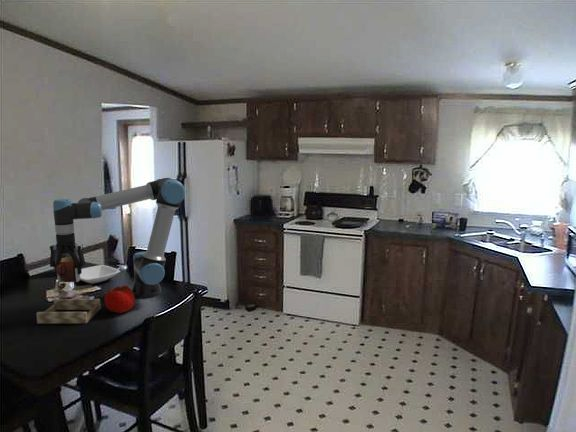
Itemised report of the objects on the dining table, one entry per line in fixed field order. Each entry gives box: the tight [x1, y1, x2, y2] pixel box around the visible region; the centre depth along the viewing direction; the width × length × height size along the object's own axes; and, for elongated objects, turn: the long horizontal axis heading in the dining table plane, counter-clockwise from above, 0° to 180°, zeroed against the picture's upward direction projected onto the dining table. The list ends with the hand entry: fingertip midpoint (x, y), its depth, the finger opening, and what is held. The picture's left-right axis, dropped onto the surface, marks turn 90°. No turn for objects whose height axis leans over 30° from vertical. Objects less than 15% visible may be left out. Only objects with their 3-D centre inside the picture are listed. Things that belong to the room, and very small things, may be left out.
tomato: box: [103, 285, 136, 314], centre depth 196 cm, size 13×14×12 cm
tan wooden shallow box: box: [35, 298, 102, 324], centre depth 189 cm, size 21×16×5 cm
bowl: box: [80, 264, 121, 285], centre depth 237 cm, size 22×23×6 cm
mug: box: [56, 257, 79, 283], centre depth 187 cm, size 12×9×10 cm
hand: (69, 280), depth 188 cm, fingers closed on mug, 7 cm apart
